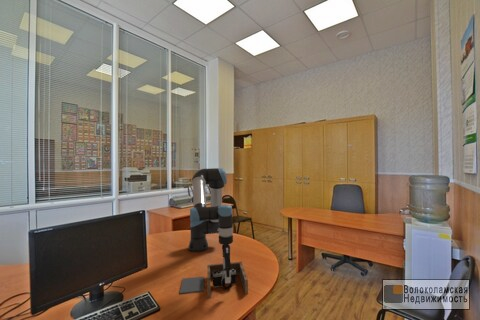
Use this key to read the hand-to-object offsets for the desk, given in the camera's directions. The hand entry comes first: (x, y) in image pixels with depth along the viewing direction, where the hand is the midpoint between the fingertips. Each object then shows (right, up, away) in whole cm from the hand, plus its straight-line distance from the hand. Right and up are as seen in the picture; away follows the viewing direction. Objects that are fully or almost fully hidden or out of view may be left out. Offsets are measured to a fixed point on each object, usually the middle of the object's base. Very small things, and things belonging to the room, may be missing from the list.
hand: (226, 276), depth 113 cm
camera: (-1, -7, +2) cm, 7 cm away
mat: (-19, -7, +3) cm, 20 cm away
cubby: (0, -6, +3) cm, 7 cm away
